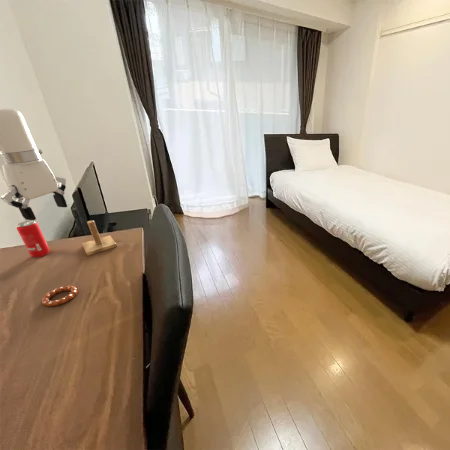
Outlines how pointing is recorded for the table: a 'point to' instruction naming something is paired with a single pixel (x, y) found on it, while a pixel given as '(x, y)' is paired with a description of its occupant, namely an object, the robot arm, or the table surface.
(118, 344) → the table surface
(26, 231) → the beverage can
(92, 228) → the post
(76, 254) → the table surface
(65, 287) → the ring
